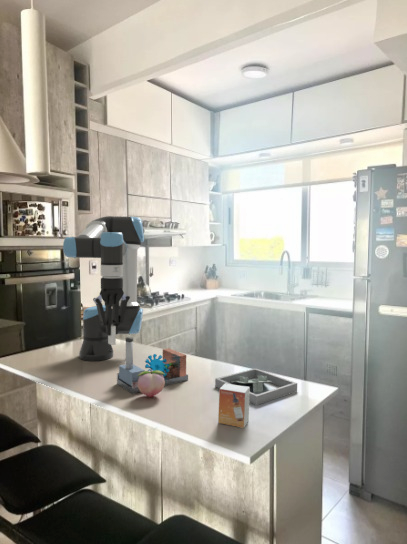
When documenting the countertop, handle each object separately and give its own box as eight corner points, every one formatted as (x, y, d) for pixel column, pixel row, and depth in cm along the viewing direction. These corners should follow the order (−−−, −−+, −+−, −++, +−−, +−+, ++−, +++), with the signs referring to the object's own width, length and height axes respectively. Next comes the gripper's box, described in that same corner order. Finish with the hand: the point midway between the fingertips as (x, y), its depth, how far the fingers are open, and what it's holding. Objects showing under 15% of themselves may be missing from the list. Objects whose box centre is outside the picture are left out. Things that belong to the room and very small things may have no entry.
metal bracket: (278, 375, 142) (238, 378, 139) (279, 392, 141) (239, 395, 138) (264, 374, 156) (227, 376, 153) (265, 389, 155) (228, 392, 151)
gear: (149, 376, 144) (143, 352, 150) (142, 384, 147) (138, 361, 153) (175, 376, 150) (169, 353, 156) (168, 383, 153) (163, 360, 159)
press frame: (116, 383, 146) (117, 357, 146) (170, 371, 161) (170, 347, 161) (132, 393, 137) (132, 365, 136) (188, 380, 152) (188, 354, 151)
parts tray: (215, 386, 146) (215, 378, 145) (254, 375, 159) (255, 368, 158) (256, 405, 129) (256, 396, 129) (297, 391, 142) (297, 383, 142)
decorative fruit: (160, 390, 140) (161, 363, 140) (166, 399, 133) (167, 370, 132) (134, 393, 137) (134, 365, 136) (139, 402, 129) (139, 373, 129)
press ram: (119, 378, 146) (119, 335, 145) (131, 375, 149) (131, 334, 148) (132, 386, 138) (132, 341, 137) (144, 383, 141) (144, 339, 140)
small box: (217, 423, 115) (218, 388, 115) (223, 416, 121) (224, 382, 120) (244, 428, 113) (245, 392, 112) (249, 420, 118) (250, 386, 117)
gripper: (98, 278, 129) (98, 349, 131) (134, 277, 137) (133, 343, 139) (89, 276, 135) (89, 344, 137) (123, 275, 143) (123, 339, 145)
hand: (111, 343), depth 138 cm, fingers closed
